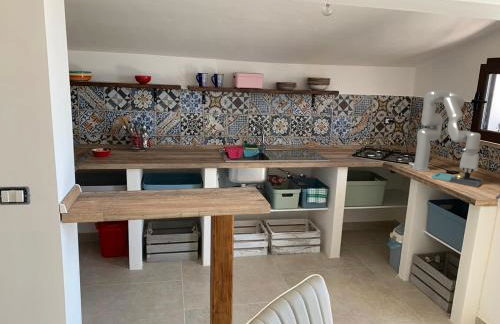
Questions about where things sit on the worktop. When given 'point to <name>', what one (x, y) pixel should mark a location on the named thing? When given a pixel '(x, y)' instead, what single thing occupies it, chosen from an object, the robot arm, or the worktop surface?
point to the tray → (442, 177)
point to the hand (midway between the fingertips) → (466, 178)
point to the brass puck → (459, 176)
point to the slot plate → (467, 181)
